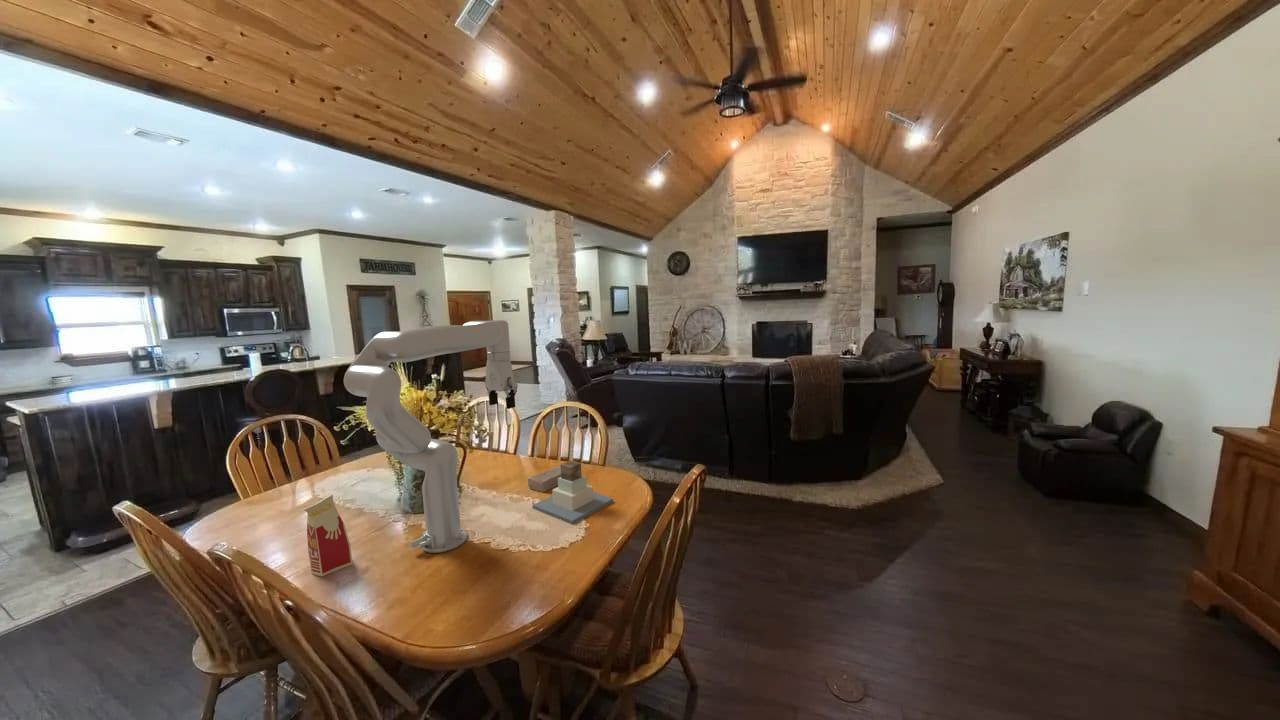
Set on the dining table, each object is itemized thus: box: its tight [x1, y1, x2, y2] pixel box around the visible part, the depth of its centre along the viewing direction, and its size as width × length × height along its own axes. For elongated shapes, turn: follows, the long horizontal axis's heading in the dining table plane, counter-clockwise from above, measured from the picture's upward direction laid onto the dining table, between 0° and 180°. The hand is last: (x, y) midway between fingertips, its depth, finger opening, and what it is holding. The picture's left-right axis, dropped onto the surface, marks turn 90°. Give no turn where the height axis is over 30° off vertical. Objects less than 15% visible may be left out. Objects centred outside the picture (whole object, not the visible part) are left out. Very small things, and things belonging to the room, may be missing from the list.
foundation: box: [531, 484, 614, 525], centre depth 158 cm, size 20×20×6 cm
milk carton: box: [302, 493, 353, 577], centre depth 124 cm, size 9×9×20 cm
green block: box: [557, 474, 588, 494], centre depth 157 cm, size 7×7×4 cm
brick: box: [527, 465, 561, 493], centre depth 178 cm, size 17×8×5 cm, turn 148°
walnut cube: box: [560, 460, 583, 481], centre depth 156 cm, size 5×5×5 cm
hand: (502, 406), depth 154 cm, fingers open, 9 cm apart
